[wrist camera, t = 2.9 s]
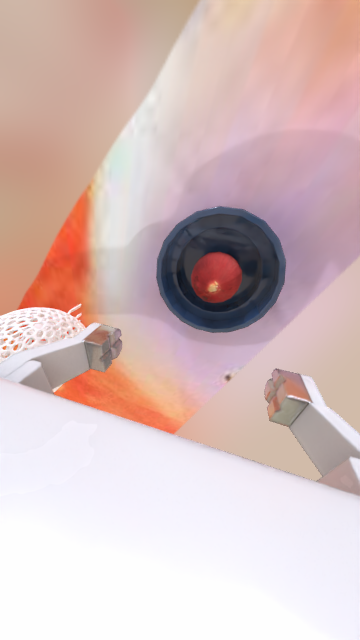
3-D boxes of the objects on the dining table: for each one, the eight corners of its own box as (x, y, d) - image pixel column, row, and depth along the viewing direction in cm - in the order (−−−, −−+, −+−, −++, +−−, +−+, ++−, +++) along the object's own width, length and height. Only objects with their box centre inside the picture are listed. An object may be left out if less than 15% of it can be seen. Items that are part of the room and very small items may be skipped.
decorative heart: (98, 362, 42) (28, 439, 28) (57, 342, 42) (-34, 408, 28) (110, 300, 32) (10, 369, 18) (57, 274, 32) (-86, 321, 18)
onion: (219, 298, 26) (215, 326, 19) (188, 273, 26) (172, 294, 19) (250, 266, 23) (257, 287, 16) (215, 237, 22) (207, 246, 16)
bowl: (296, 217, 20) (313, 218, 16) (254, 324, 27) (257, 343, 23) (173, 201, 22) (159, 198, 18) (165, 304, 29) (154, 319, 25)
